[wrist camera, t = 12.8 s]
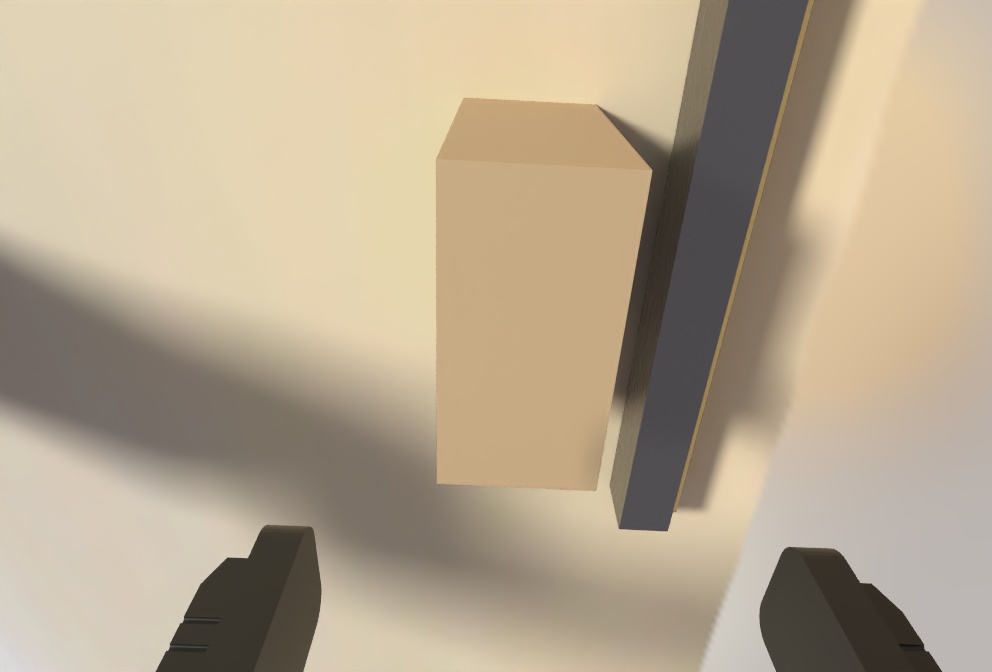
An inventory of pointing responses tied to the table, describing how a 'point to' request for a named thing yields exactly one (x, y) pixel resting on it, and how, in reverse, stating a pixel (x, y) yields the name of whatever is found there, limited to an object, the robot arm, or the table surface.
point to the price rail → (702, 241)
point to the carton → (532, 290)
